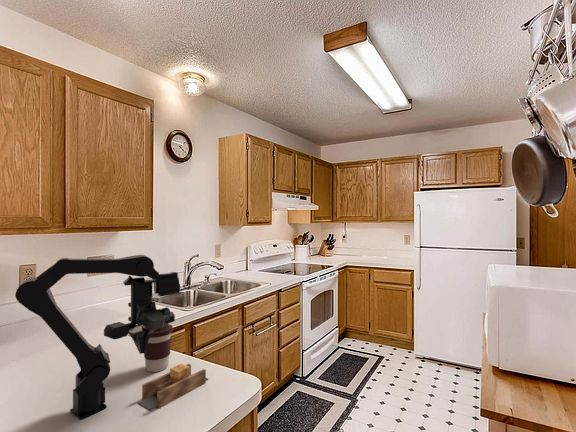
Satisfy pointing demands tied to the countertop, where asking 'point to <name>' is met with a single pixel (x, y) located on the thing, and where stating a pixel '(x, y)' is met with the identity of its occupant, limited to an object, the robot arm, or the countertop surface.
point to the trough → (169, 389)
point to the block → (179, 373)
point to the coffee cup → (158, 349)
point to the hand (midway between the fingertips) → (141, 353)
